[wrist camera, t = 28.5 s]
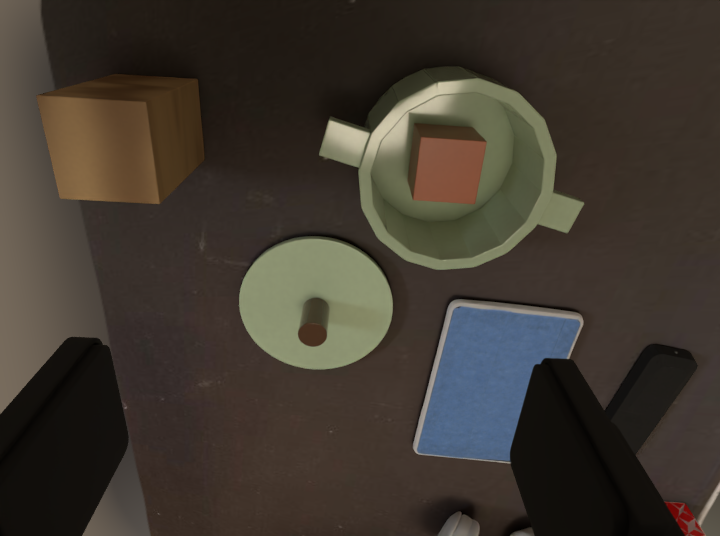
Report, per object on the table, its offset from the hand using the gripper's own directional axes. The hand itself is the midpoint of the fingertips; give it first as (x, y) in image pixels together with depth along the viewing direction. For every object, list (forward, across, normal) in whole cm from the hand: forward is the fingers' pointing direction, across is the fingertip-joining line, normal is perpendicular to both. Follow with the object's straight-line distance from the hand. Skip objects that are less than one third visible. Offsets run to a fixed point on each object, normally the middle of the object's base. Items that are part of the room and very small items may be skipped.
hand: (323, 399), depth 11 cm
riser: (+30, +14, 0) cm, 33 cm away
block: (+30, -7, +2) cm, 30 cm away
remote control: (+30, -30, +26) cm, 50 cm away
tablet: (+30, -15, +25) cm, 42 cm away
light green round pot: (+30, -7, +2) cm, 31 cm away
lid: (+29, +2, +16) cm, 34 cm away
